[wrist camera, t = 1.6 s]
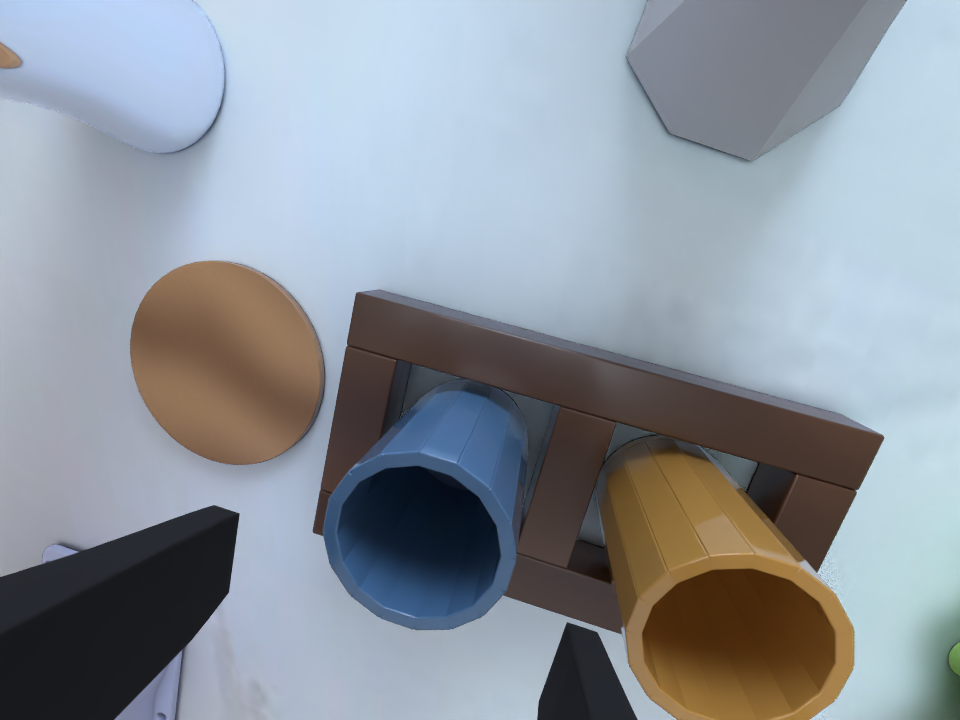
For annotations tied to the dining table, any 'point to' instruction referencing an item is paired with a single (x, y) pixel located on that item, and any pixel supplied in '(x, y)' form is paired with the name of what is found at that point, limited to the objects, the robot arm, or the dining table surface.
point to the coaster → (227, 362)
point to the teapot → (955, 659)
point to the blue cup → (434, 510)
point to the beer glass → (116, 66)
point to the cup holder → (592, 436)
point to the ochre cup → (715, 592)
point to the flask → (753, 65)
